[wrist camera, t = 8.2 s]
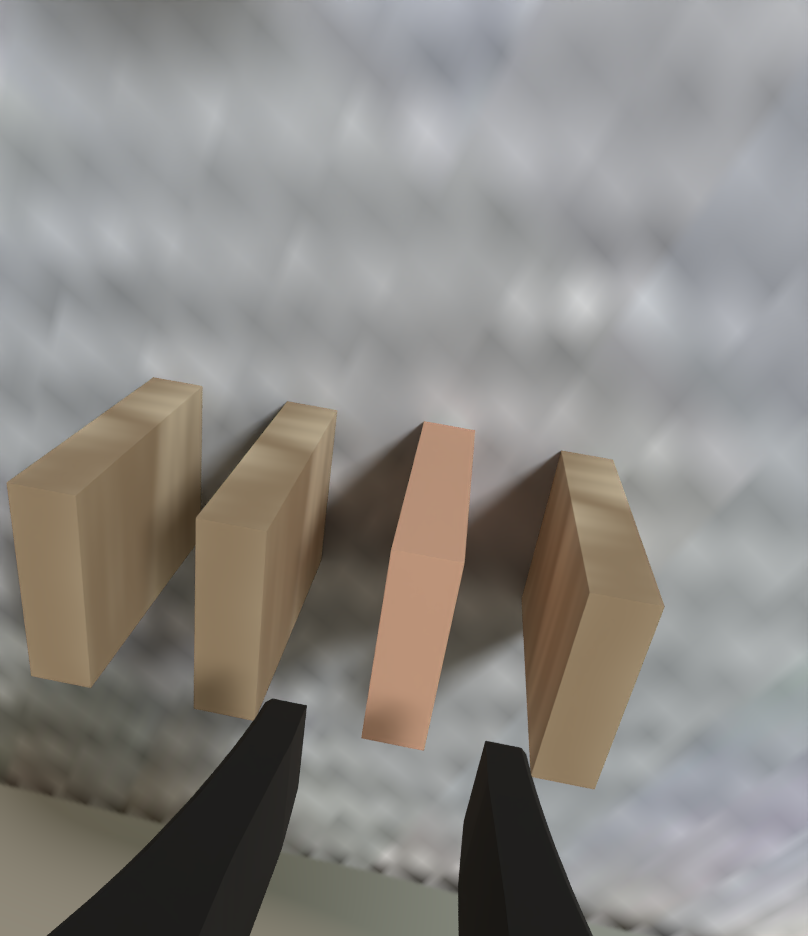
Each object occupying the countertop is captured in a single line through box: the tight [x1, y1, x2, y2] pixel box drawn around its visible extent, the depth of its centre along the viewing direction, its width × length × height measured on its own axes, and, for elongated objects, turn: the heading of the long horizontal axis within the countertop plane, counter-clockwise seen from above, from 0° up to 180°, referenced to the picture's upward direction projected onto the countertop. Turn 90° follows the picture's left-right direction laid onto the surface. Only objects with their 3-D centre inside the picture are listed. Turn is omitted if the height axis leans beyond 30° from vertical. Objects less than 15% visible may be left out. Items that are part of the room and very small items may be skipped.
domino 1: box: [7, 377, 202, 688], centre depth 18 cm, size 1×5×6 cm, turn 172°
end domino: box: [522, 451, 665, 789], centre depth 17 cm, size 1×5×6 cm, turn 172°
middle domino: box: [194, 401, 337, 720], centre depth 17 cm, size 1×5×6 cm, turn 172°
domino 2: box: [361, 421, 475, 751], centre depth 17 cm, size 1×5×6 cm, turn 171°
